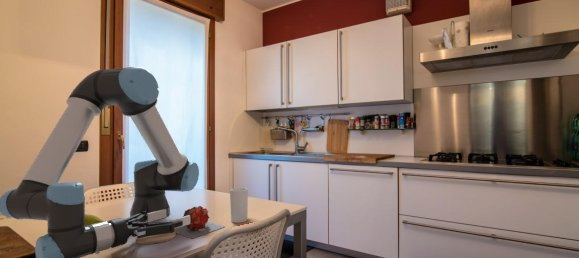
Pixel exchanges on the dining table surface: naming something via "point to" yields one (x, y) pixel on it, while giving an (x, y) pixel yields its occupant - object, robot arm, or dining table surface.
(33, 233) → the dining table surface
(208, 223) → the grey square tile
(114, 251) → the dining table surface
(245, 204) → the mug
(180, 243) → the dining table surface
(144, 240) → the coaster
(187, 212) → the dragon fruit
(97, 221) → the green mango
